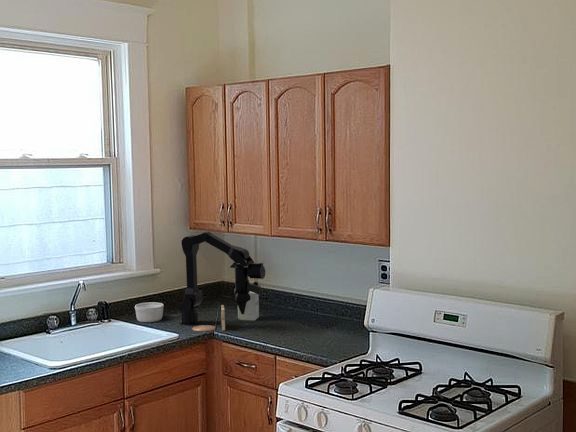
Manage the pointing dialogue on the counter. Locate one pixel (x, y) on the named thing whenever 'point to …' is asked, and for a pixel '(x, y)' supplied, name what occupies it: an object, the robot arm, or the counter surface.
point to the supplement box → (253, 307)
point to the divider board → (223, 317)
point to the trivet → (203, 328)
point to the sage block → (242, 316)
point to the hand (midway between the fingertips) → (242, 313)
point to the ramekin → (149, 311)
